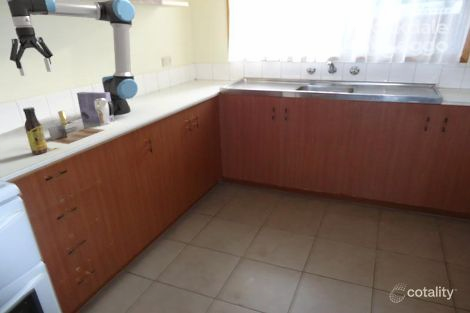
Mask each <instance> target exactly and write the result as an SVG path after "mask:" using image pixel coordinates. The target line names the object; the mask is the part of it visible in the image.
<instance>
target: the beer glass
mask: <svg viewBox="0 0 470 313" xmlns="http://www.w3.org/2000/svg"><path fill="white" fill-rule="evenodd" d="M94 106H95V110H96V113H97V115H98V118H99V121H100V122H99V125H100V126H109V125H111V124H112V122H110V118H109V105H108V101H107V98H98V99H94Z"/></svg>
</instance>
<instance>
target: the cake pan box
mask: <svg viewBox="0 0 470 313" xmlns="http://www.w3.org/2000/svg"><path fill="white" fill-rule="evenodd" d="M76 96H77V100H78V102H77V103H78V107H79V113H80V119H82V121H83V124H86V123H92V122H93V123H100V121H99V118H98V115H97V113H96V110H95V106H94V99H98V98H107V101H108V105H109V118H110V122H111V123H115V117H114V116H115V115H113V114H114V106H113V104H112V102H111V97H110V92H104V91H81V92H80V91H79V92H77V93H76Z"/></svg>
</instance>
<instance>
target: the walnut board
mask: <svg viewBox="0 0 470 313" xmlns="http://www.w3.org/2000/svg"><path fill="white" fill-rule="evenodd" d="M103 131H105V129H102V128H100V129H99V128H93V127H84V129H83V130H80V131H78V133H79V134H76V135H73V136H71V137H68V138H67V137H61V138H58V139H55V140H51V138H48V139H45V140H46V142H50V143H51V142H52V143H59V144H66V145H69V144H72V143H74V142H77V141H79V140H80V141H81V140H82V139H85V138H87V137H88V138H89V137H91V136H93V135H96V134H98V133H100V132H103Z"/></svg>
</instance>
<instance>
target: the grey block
mask: <svg viewBox="0 0 470 313" xmlns="http://www.w3.org/2000/svg"><path fill="white" fill-rule="evenodd" d="M67 121H68V124H66V125H62V124H61V122H59V123H56V124H55V127H56V126H59V125H61V129H64V130H66V129H69V128H72V127H75V126H77V130H74V131H71V132H68V133H63V137H67V138H68V137H71V136H73V135H76V134H79V133H78V131H80V130H83V129H84V128H85V126H84V123H83V121H82V118H78V119H74V120H70V121H69V120H67Z"/></svg>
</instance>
